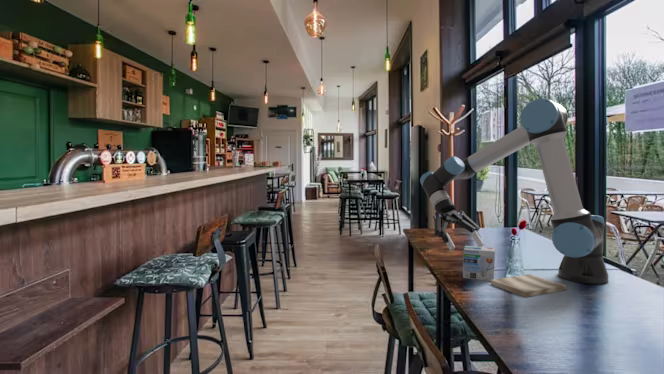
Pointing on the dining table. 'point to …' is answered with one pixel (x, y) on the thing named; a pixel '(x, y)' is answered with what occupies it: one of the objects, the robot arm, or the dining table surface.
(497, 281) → the birch board
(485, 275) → the light bulb box
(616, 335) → the dining table surface
